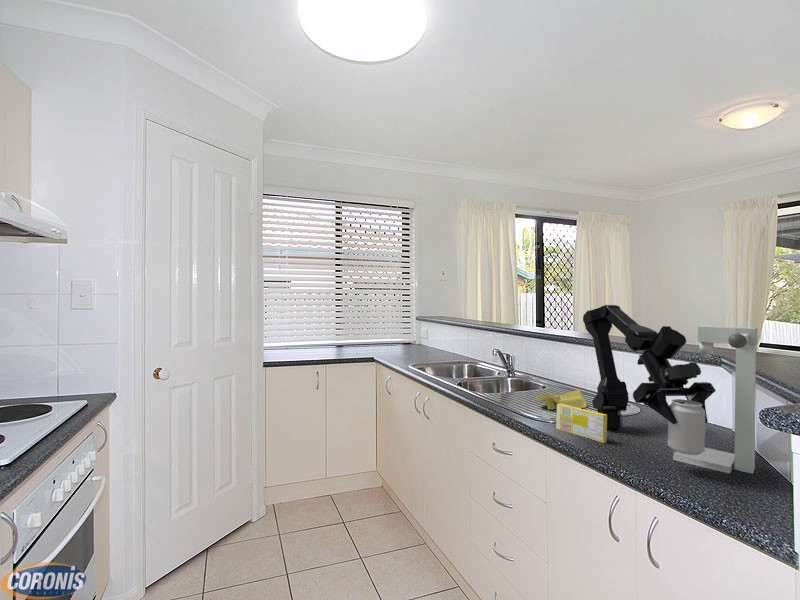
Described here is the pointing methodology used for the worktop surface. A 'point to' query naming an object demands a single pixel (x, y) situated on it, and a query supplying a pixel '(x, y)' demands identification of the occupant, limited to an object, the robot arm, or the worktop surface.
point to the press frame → (738, 385)
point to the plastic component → (563, 399)
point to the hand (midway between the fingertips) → (690, 423)
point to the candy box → (582, 422)
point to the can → (687, 427)
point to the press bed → (709, 459)
